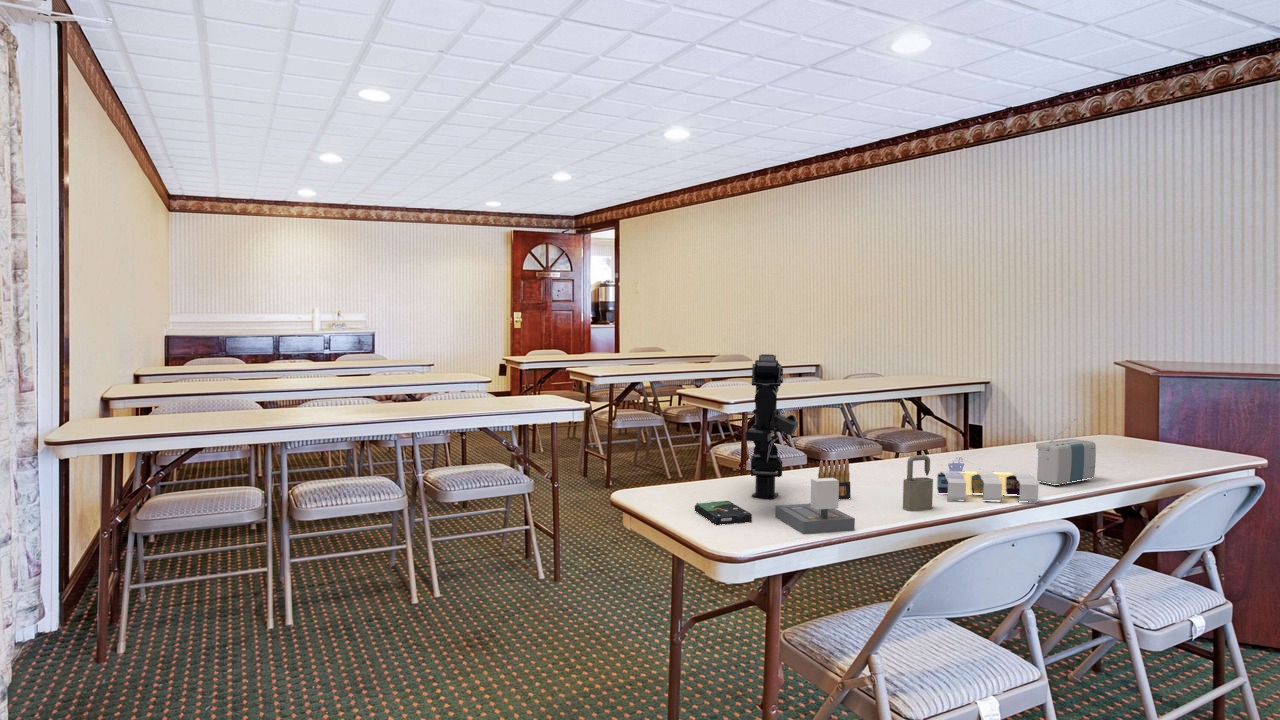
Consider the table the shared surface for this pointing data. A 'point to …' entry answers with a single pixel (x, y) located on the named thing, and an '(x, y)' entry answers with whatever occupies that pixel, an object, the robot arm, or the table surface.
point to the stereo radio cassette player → (1065, 460)
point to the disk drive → (723, 512)
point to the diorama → (986, 484)
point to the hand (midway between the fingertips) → (765, 462)
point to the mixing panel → (814, 519)
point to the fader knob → (824, 494)
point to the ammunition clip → (837, 476)
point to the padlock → (917, 487)
